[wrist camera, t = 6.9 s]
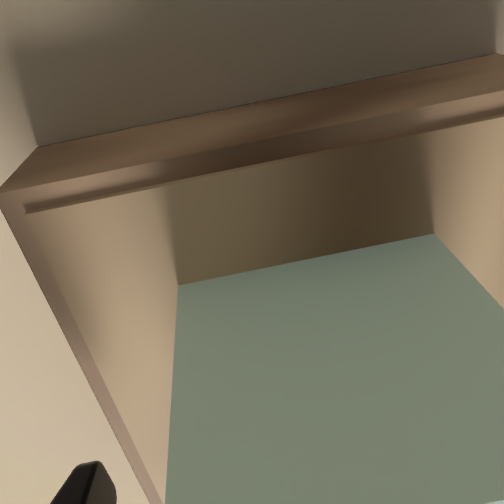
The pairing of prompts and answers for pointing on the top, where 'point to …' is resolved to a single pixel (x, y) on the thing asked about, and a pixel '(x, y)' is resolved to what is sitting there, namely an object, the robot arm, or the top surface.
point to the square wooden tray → (249, 214)
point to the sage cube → (339, 383)
